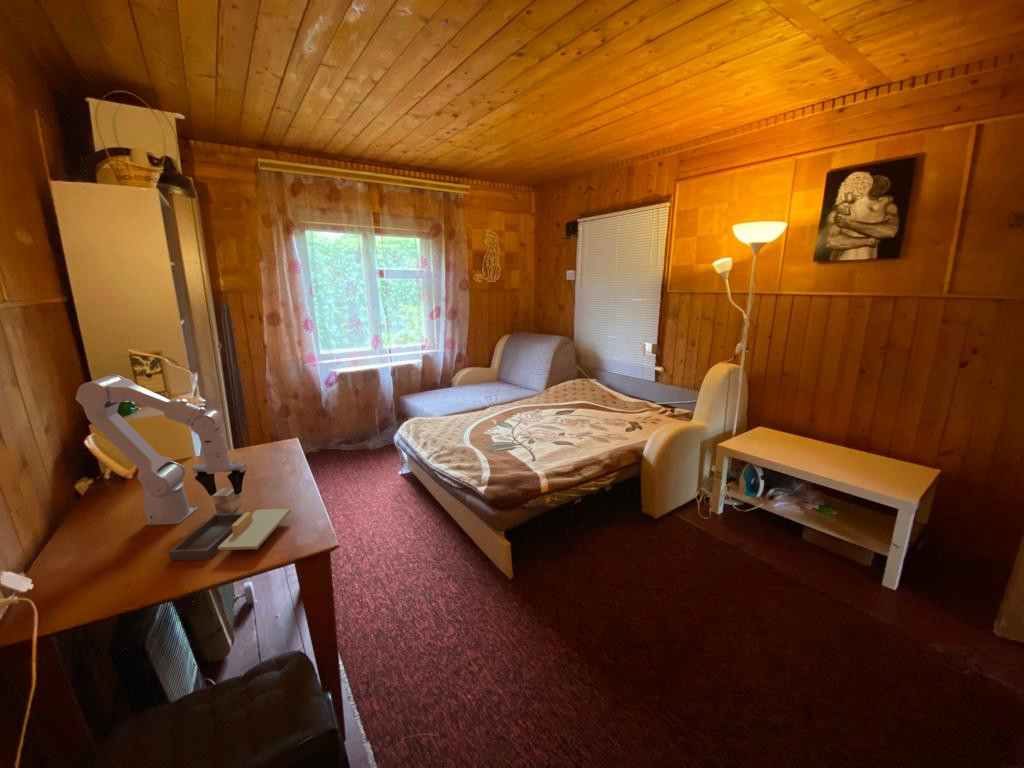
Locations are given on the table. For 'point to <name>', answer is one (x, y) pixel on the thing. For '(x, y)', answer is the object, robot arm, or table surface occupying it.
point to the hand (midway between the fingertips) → (225, 493)
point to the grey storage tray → (205, 538)
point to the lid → (253, 529)
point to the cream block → (226, 501)
